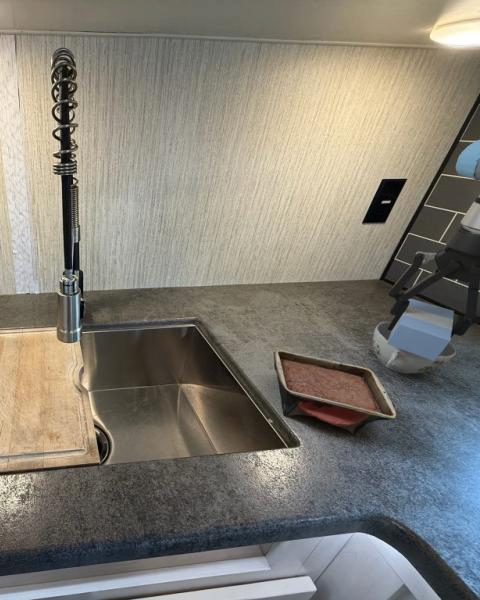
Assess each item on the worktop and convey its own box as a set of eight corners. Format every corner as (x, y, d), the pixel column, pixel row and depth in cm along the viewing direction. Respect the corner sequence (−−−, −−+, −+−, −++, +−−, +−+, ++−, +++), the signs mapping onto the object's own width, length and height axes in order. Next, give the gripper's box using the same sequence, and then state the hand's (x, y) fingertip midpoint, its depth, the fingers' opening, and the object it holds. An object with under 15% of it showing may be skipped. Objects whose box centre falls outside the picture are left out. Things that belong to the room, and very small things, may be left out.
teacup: (375, 341, 78) (392, 314, 74) (443, 372, 69) (466, 344, 64) (344, 361, 72) (361, 333, 67) (414, 398, 62) (438, 369, 58)
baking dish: (369, 458, 53) (411, 421, 48) (260, 411, 58) (288, 372, 53) (345, 402, 65) (377, 367, 60) (256, 367, 70) (278, 332, 65)
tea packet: (397, 316, 72) (409, 297, 70) (439, 330, 68) (454, 310, 65) (386, 343, 64) (399, 323, 61) (434, 361, 59) (451, 340, 56)
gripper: (409, 221, 58) (352, 322, 70) (593, 253, 45) (485, 369, 57) (414, 214, 62) (359, 310, 74) (583, 241, 50) (485, 351, 61)
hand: (414, 336), depth 66 cm, fingers closed on tea packet, 7 cm apart
